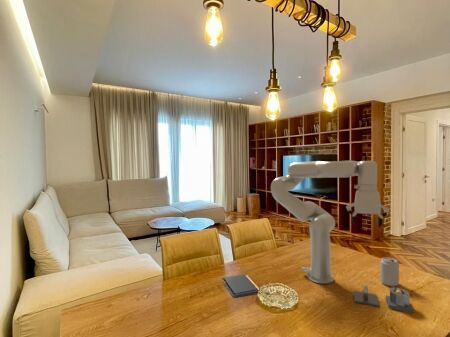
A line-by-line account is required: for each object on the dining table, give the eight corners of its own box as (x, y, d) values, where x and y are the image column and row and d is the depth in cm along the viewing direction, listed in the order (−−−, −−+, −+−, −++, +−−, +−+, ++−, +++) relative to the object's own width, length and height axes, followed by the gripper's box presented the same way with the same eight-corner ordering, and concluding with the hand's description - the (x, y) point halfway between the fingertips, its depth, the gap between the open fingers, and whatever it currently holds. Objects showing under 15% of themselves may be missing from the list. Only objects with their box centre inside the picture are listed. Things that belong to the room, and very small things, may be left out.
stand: (354, 302, 107) (354, 288, 107) (353, 292, 115) (353, 279, 115) (379, 307, 103) (379, 292, 103) (376, 296, 111) (376, 282, 111)
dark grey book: (220, 275, 130) (247, 271, 134) (220, 279, 130) (247, 275, 134) (232, 295, 111) (263, 290, 115) (232, 300, 111) (263, 294, 115)
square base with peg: (389, 308, 102) (389, 292, 102) (385, 298, 110) (385, 283, 109) (413, 313, 99) (413, 297, 99) (407, 302, 106) (408, 287, 106)
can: (401, 288, 118) (402, 262, 118) (384, 286, 120) (384, 261, 119) (394, 280, 126) (394, 256, 125) (377, 279, 127) (378, 255, 127)
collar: (400, 307, 100) (400, 297, 100) (385, 299, 106) (385, 288, 106) (413, 305, 102) (413, 294, 102) (398, 296, 108) (398, 286, 108)
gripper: (346, 188, 114) (346, 225, 115) (391, 189, 107) (390, 229, 108) (345, 186, 121) (345, 222, 122) (388, 188, 114) (387, 225, 115)
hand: (366, 225), depth 115 cm, fingers open, 9 cm apart
